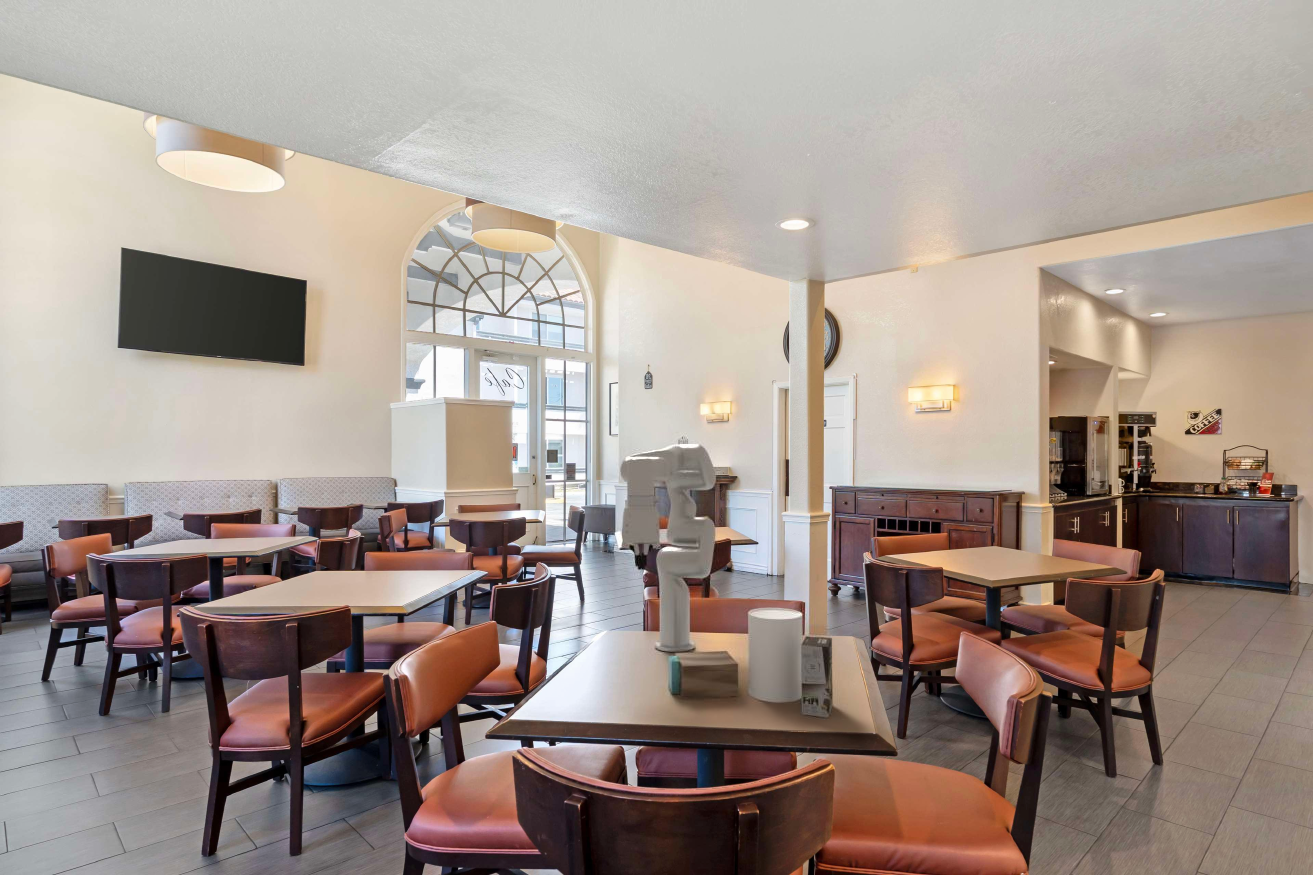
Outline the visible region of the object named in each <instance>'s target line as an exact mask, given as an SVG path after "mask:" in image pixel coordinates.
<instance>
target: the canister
mask: <svg viewBox="0 0 1313 875" xmlns="http://www.w3.org/2000/svg"><path fill="white" fill-rule="evenodd" d="M747 613H748V614H747V618H748V619H747V622H748V624H747V625H748V627H747V629H748V630H747V633H748V634H747V636H748V642H747V643H748V646H747V647H748V694H749V695H750V696H751V697H752V698H755V699H757V700H760V701H763V702H770V703H790V702H795V701H798V700H802V682H801V644H802V643H803V641H804V640H803V639H804V638H803V635H804V634H803V613H802V612H800V611H798V610H795V609H792V608H791V609H789V608H784V607H782V608H781V607H759V608H754V609H750V610H749V611H748V612H747Z"/></svg>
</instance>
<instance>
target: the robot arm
mask: <svg viewBox="0 0 1313 875" xmlns="http://www.w3.org/2000/svg"><path fill="white" fill-rule="evenodd" d="M619 470H620V476H621V479H622V480H623V481H624V482H626V485H627V486H626V487H627V489H626V490H627V492H626V494H627V496H626V502H627V503H626V504H627V506H624V509H623V513H622V524H621V530H622V531H621V538H622V542H621V547H622V548H623V549H628V550H630V551H631V552H633V554H635V557H634V559H635V562H634V563H635V564H634V565H635V567H637V570H640V571H641V570H645V567H648V564H647V560H648V558H647V557H648V556H647V555H648V554H649V553H650V552H651V551H652V550H653V549H656V548H660V547H661V542H660V533H661V532H660V531H661V530H660V521H659V518H660V517H659V513H658V508H657V506H655V505H656V504H657V503H659V504H660V502H661V501H660V500H661V499H660V497H656V496H655V484H662V483H665V486H666V489H667V494H668V496H669V500H670V512H669V517H668V522H667V526H666V527H667V528H666V529H667V530H666V540H667V542H668V543H669V544H670V545H671V546H665V547H662V548H661V549H660V550H659V551H658V552H657V554H656V569H657V573H658V582H659V587H658V588H659V640H657V641H655V642H654V647H655V649H657V650H659V651H662V652H663V651H664V652H671V653H672V652H673V653H683V652H687V651H691V650H693V649H694V648H695V644H696V643H695V642H694V641H693V640H691V637H690V635H691V634H690V633H691V629H690V627H691V626H690V620H691V619H690V618H691V617H690V616H691V615H690V606H691V604H690V601H691V600H690V598H691V597H690V595H691V594H690V589H689V586H688V585H687V583H686V581H685V580H684V579H683V578H688V579H692V578H693V579H704V578H708V576H709V575H710V573H711V569H712V564H713V558H714V557H713V556H714V550H715V542H716V526H715V523H714V521H713V520H712V519H711V518H709V517H703V516H700V517H699V516H696V515H697V505H696V502H695V501H694V499H693V497H691V495H690V494H689V493H688V492H687V491H708V490H712V489H713V488H714V487H715V484H716V479H717V475H716V474H717V473H716V470H715V468H714V465H713V462H712V460H711V457H710V455H709V452H708V451H707V450H706V448H705V446H703V445H701V444H696V443H695V444H673V445H672V444H671V445H669V446H667V447H666V446H665V447H664V448H661V449H657V450H652V451H647V452H640V453H635V454H632V455H628V456H627V457H625V458H624V459H623V460H622V462H621V464H620V469H619ZM639 545H642V551H641V552H640V548H639ZM672 545H673V546H672Z"/></svg>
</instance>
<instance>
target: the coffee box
mask: <svg viewBox="0 0 1313 875" xmlns="http://www.w3.org/2000/svg"><path fill="white" fill-rule="evenodd" d="M803 639H804V640H803V643H802V644H801V682H802V698H801V715H805V716H813V717H819V718H827V719H828V718H829V717H830V714H831V711H832V709H833V705H834V704H833V702H834V701H833V700H834V698H833V697H834V695H833V694H834V692H833V638H832V637H823V636H822V637H821V636H807V635H806V636H805V637H804V638H803Z"/></svg>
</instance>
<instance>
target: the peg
mask: <svg viewBox="0 0 1313 875" xmlns="http://www.w3.org/2000/svg"><path fill="white" fill-rule="evenodd" d="M667 659H668V662H667V664H668V665H667V666H668V673H667V674H668V676H667V678H668V680H667V681H668V690H669V691H670V693H671V694H672V695H674V694H680V667H679V660H678V658H677V656H675V655H668V658H667Z"/></svg>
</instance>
